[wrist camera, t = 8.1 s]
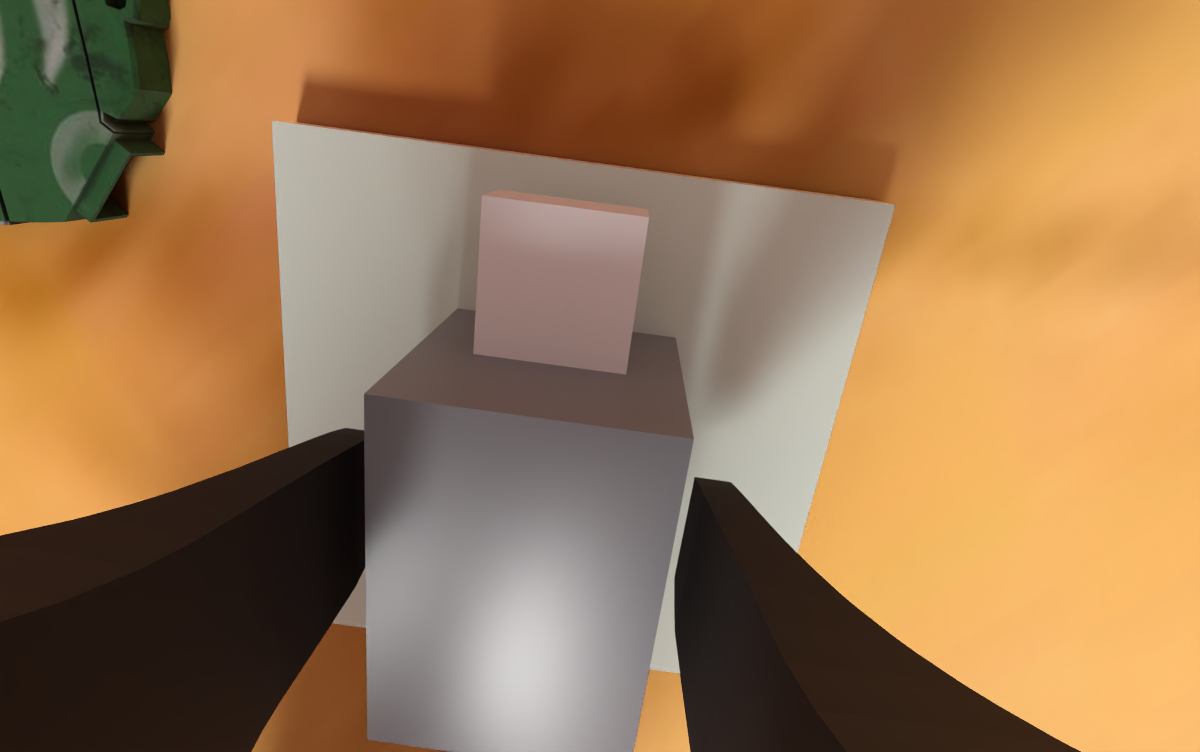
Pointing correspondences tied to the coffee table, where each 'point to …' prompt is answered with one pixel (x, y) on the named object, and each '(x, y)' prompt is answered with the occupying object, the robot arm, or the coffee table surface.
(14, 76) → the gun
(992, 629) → the coffee table surface
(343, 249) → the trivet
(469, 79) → the coffee table surface
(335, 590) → the robot arm
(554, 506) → the connector plug
